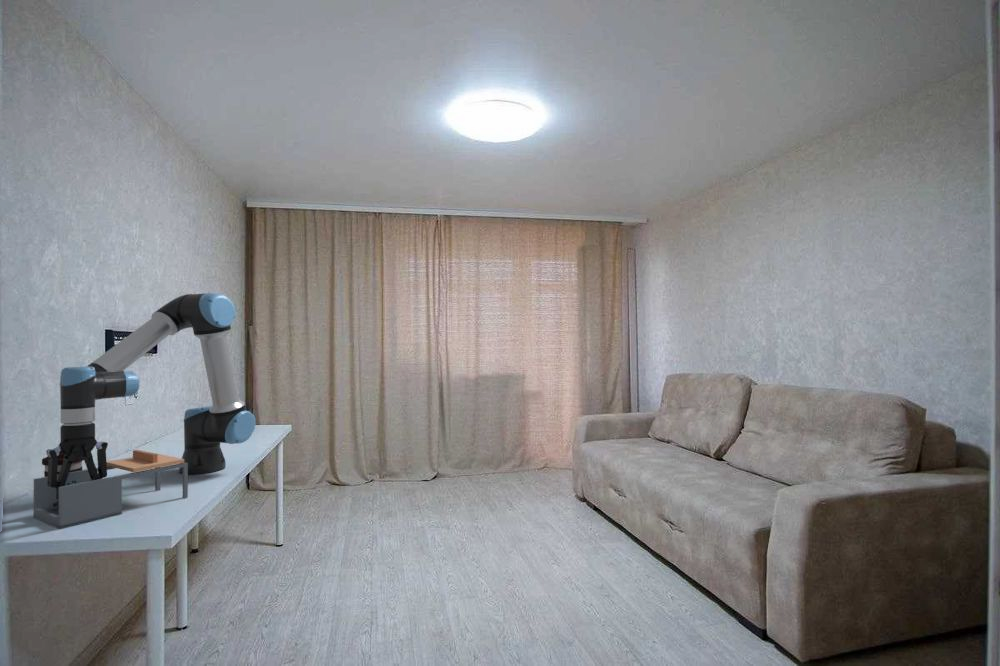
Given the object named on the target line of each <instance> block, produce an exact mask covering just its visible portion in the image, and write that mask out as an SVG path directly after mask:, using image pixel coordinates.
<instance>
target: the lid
mask: <svg viewBox="0 0 1000 666" xmlns="http://www.w3.org/2000/svg"><path fill="white" fill-rule="evenodd" d="M106 463H107V466H110V467H114V468H115V469H120V470H122V471H123V470H124V471H127V472H130V473H134V472H139V471H144V470H150V469H155V468H158V467H165V466H170V465H175V464H180V463H184V459H182V457H175V456H170V455H166V454H161V453H154V452H150V451H145V450H141V449H140V450H139V449H134V450H132V456H131V457H126V458H125V457H124V458H120V459H114V460H113V459H112V460H109V461H107V460H106Z"/></svg>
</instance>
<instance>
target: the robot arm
mask: <svg viewBox="0 0 1000 666" xmlns="http://www.w3.org/2000/svg"><path fill="white" fill-rule="evenodd" d="M235 318H236V308H235V304H234V303H233V302H232V300H231V298H229V297H227V296H226V295H224V294H221V293H214V292H206V293H204V292H203V293H193V294H192V293H190V294H189V293H187V294H184V295H180V296H178V297H175V298H174V299H172V300H170V301H169V302H167V303H165V304H164V305H163V306H161V307H160V308H159V309H157V310H156V311H154V312H153V313H151V318H150V319H149V320H148V321H146V322H145V323H143V324H142V325H141V326H139V327H138V328H137V329H135V330H134V331H132V332H131V333H130V334H129V335H127V336H126V337H125V338H123V339H122V340H120V341H119V342H117V344H115V345H114V346H112V347H111V348H109V349H108V350H107V351H106V352H104V353H103V354H101V355H100V356H99V357H97V358H96V359H94V360H93V362H91V363H88V365H87V366H68V367H64V368H63V369H61V370H60V376H59V377H60V381H59V388H60V390H59V391H60V397H59V398H60V424H62V425H61V426H60V442H59V444H58V446H57V447H54V448H51V449H50V448H49V449H47V450H46V455H47V456H48V458H49V461H48V479H47V485H48V486H49V487H52V488H56V499H57V500H59V487H62V486H65V484H66V480H67V477H68V474H69V471H70V468H71V465H72V463H73V462H74V459H75V458H78V457H82V458H83V459H84V460H83V461H84V464H85V466H86V470H87V469H88V472H89V475H90V478H91V480H92V481H93V480H98V479H103V478H108V477H107V476H108V470H107V463H106V462H107V452H106V451H107V449H108V445H109V443H108V442H105V441H98V440H97V439H96V424H95V423H94V422H95V420H96V400H103V399H104V400H105V399H106V400H107V399H115V398H126V397H131V396H135V395H136V394H137V392H138V391H139V390H140V377H139V376H138V374H137V373H135V372H134V371H133V370H132V371H131V370H126V369H127V368H129V367H131V365H133V364H134V363H135V362H136V361H138V360H139V359H140V358H142V357H143V356H145V355H146V353H148V352H150V351H151V350H152V349H153V348H154V347H156V346H157V345H158V344H160V342H162V341H163V340H165V339H166V338H167V337H168V336H174V335H176V334H177V333H178V332H180V331H182V330H183V331H184V330H186V329H189V328H192V332H193V335H194V337H197V338H198V339H199V341H200V347H201V351H202V357H203V361H204V365H205V366H204V367H205V370H206V371H205V372H206V376H207V377H206V378H207V381H208V385H209V391H210V392H209V393H210V396H211V402H212V405H209V406H201V407H195V408H193V407H192V408H188V409H186V410H184V411H185V412H184V415H183V416H184V417H183V428H184V429H183V433H184V436H183V438H184V441H183V443H184V446H183V447H184V451H183V453H182V455H181V459H184V463H188V475H197V474H198V475H199V474H208V473H213V472H218V471H220V470H224V469H226V465H227V464H226V458H225V457H224V453H223V450H222V448H221V444H228V445H234V444H242V443H243V444H244V443H245V442H246V441H247V440H249V439H250V438H251V437H252V434H253V433H254V431H255V429H256V417H255V415H254V414H253V413H252V412H251V411H249V410H247V409H246V403H245V401H243V400H241V399H240V395H239V390H238V385H237V380H236V373H235V369H234V364H233V358H232V353H231V348H230V347H231V346H230V343H229V336H228V334H229V333H230V331H231V330H232V327H231V325H232V324H234V321H235V320H234V319H235ZM125 370H126V371H125ZM94 448H96V455H97V458H96V459H97V467H96V464H95V460H94V456H93V453H92V451H93V449H94ZM60 451H61V452H62V453H63V454H65V455H64V458H63V464H62V467H61V470H60V473H59V476H58V479H57V467H58V457H57V456H58V455H59V452H60ZM96 468H98V472H97V469H96ZM178 473H179V474H183V467H181V468H178Z"/></svg>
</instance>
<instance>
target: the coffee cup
mask: <svg viewBox="0 0 1000 666" xmlns="http://www.w3.org/2000/svg"><path fill="white" fill-rule="evenodd" d="M64 455H65V454H63V453H62V452H61V451H60V452H59V455H58V456H57V457H58V467H57V475H59V473H60V470H61V467H62V464H63V458H64ZM48 461H49V458H48V455H47V456H45V457H43V458H42V459H41V466H44V472H43V474H44V476H43V477H48ZM83 461H84V459H83V458H82V457H78V458H75V459H74V462H73V463H72V465H71V468H70V471H69V473H70V472H76V471H81V470H83Z"/></svg>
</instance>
